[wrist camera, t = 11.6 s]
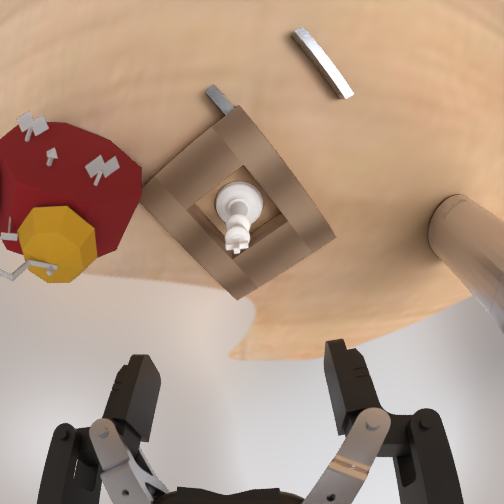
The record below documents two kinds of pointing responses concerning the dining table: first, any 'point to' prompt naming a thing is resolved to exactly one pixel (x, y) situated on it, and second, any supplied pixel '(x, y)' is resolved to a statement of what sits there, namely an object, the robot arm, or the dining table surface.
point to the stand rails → (316, 57)
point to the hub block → (211, 174)
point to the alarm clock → (63, 197)
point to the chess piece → (238, 212)
